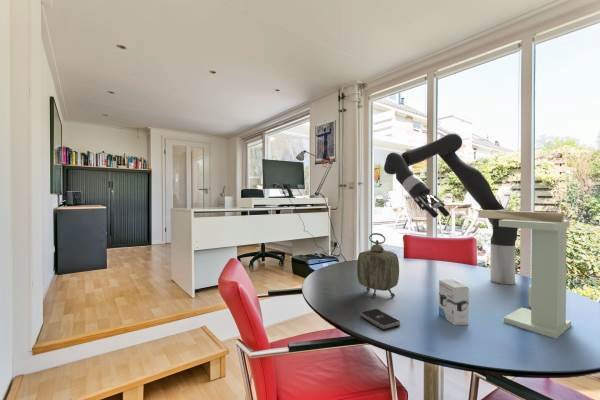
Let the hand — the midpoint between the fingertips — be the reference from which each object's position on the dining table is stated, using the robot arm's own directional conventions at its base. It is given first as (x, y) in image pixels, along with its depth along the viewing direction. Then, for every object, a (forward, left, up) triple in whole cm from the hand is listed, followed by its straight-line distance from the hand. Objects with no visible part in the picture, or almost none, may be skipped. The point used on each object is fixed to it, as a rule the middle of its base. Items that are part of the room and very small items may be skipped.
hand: (442, 215), depth 111 cm
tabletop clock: (+22, -14, -32) cm, 41 cm away
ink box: (+18, +14, -32) cm, 39 cm away
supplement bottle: (-16, +26, -32) cm, 44 cm away
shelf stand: (0, +29, -32) cm, 43 cm away
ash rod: (0, +25, 0) cm, 25 cm away
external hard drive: (+39, +2, -32) cm, 51 cm away
